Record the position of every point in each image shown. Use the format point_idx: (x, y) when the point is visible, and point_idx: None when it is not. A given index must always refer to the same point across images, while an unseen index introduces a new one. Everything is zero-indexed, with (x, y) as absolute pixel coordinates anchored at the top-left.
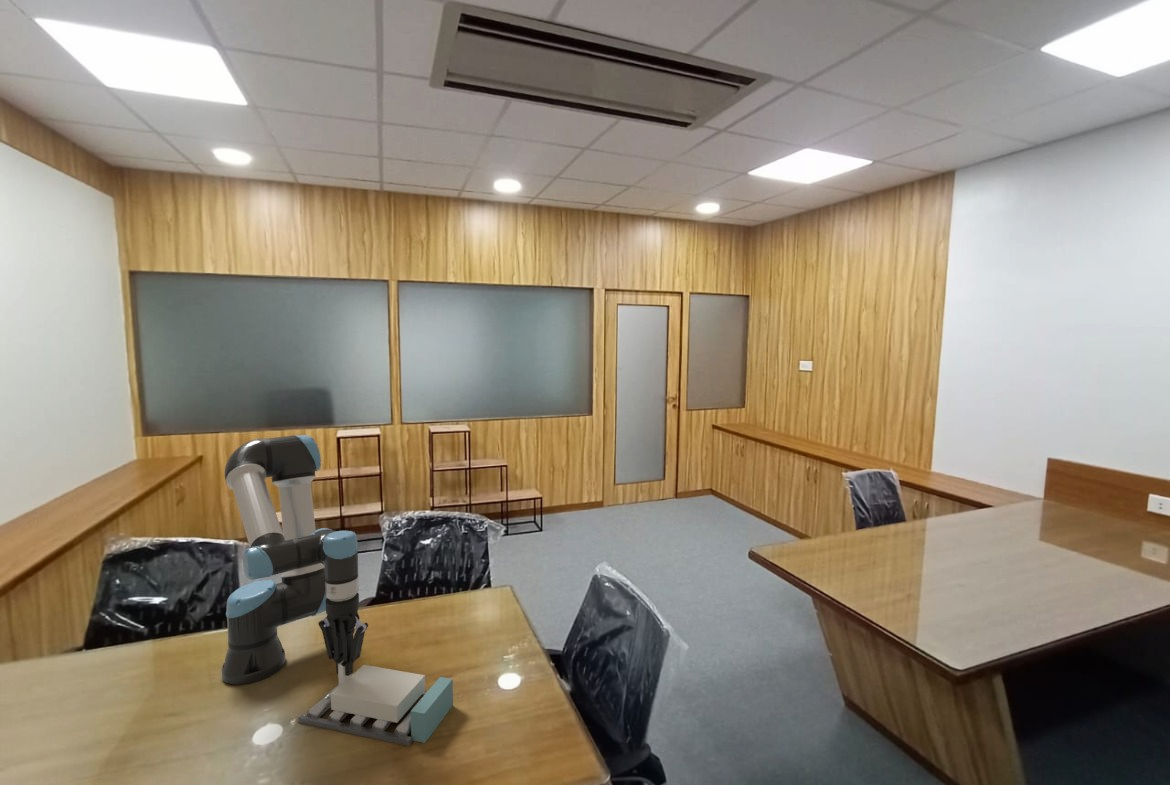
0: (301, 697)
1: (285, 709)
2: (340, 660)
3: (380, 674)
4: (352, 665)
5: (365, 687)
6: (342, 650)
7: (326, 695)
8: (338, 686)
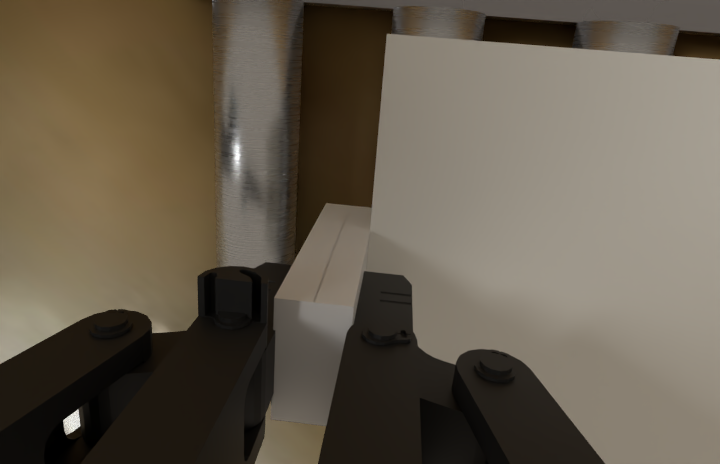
0: (43, 169)
1: (49, 272)
2: (266, 396)
3: (660, 167)
4: (410, 321)
5: (597, 359)
6: (231, 445)
7: (232, 252)
8: (245, 155)
